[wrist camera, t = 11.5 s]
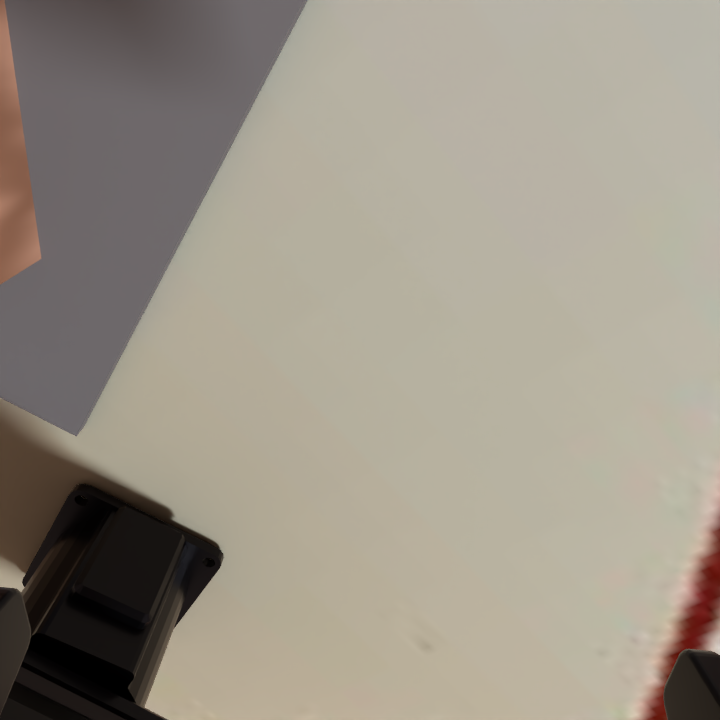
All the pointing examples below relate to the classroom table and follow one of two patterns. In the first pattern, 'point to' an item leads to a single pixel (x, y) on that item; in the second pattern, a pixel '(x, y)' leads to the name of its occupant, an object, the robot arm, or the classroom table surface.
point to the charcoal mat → (117, 170)
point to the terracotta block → (13, 172)
